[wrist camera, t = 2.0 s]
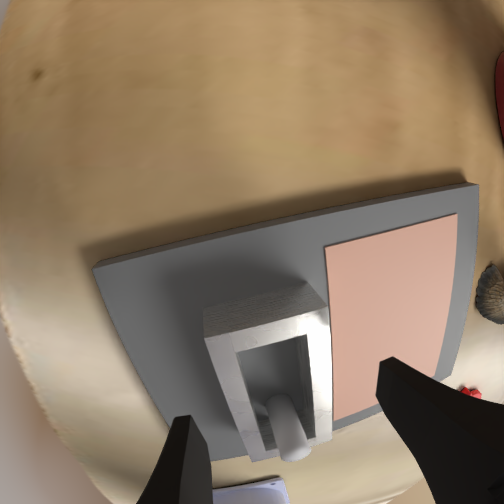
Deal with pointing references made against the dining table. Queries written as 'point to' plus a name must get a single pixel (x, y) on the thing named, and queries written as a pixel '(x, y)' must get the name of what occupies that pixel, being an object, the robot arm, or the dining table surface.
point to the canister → (500, 89)
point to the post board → (328, 288)
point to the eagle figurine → (491, 295)
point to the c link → (263, 333)
